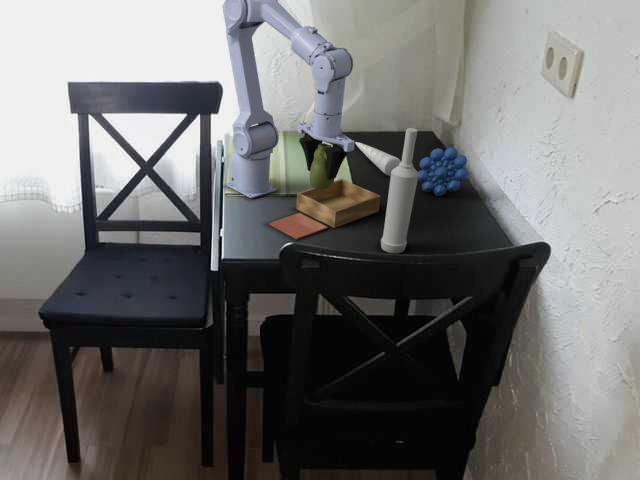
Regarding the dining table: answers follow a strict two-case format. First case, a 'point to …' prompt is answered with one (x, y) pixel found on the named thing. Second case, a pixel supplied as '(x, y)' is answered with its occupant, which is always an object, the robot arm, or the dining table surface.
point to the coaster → (298, 226)
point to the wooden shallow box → (338, 203)
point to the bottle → (400, 198)
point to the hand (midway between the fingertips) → (321, 174)
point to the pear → (320, 169)
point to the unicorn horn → (380, 158)
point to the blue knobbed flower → (442, 171)
